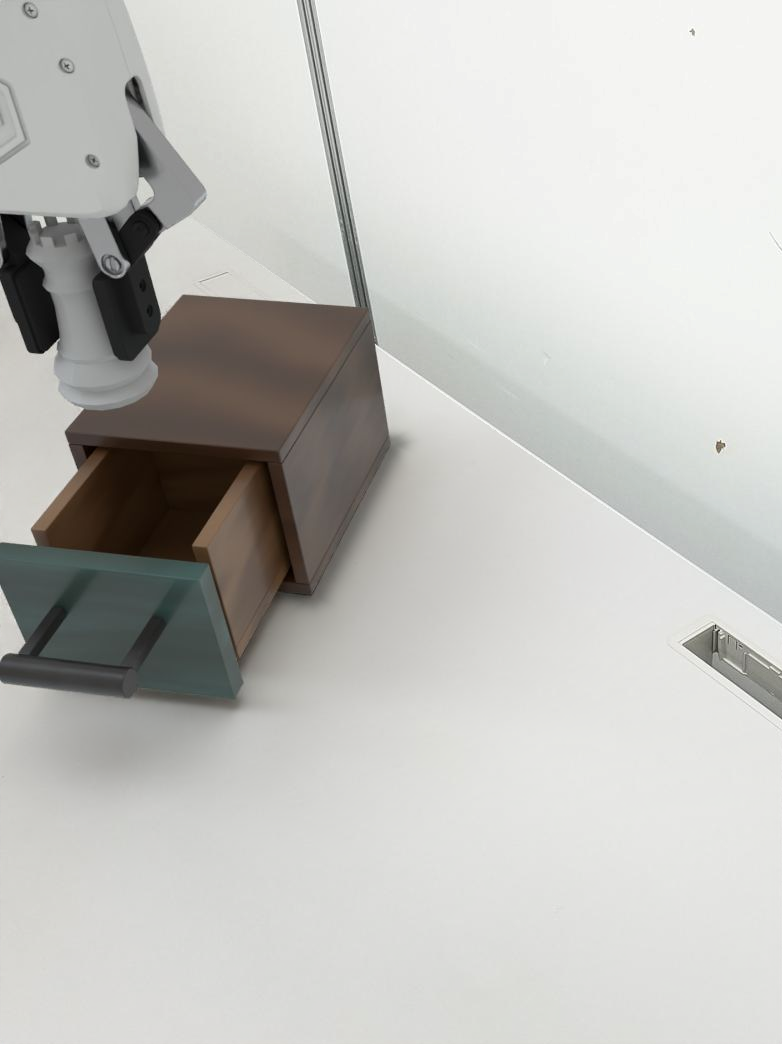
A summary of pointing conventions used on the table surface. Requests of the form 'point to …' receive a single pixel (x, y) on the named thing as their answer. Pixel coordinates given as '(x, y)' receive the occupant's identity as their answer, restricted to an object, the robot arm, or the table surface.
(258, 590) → the drawer
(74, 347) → the rook chess piece
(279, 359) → the cabinet
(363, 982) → the table surface
